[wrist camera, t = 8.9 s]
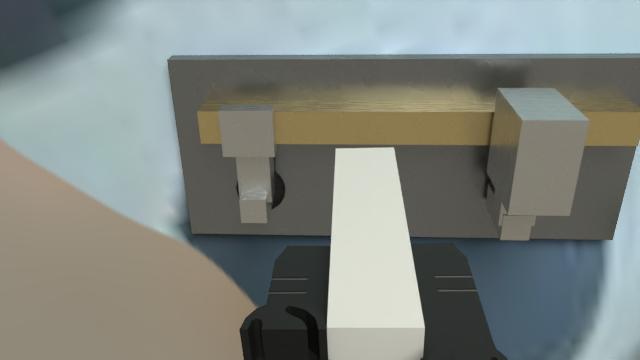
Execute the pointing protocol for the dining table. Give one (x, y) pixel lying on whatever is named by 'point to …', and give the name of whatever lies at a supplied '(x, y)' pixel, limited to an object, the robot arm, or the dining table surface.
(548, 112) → the block
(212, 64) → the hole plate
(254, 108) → the beam
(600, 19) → the dining table surface
